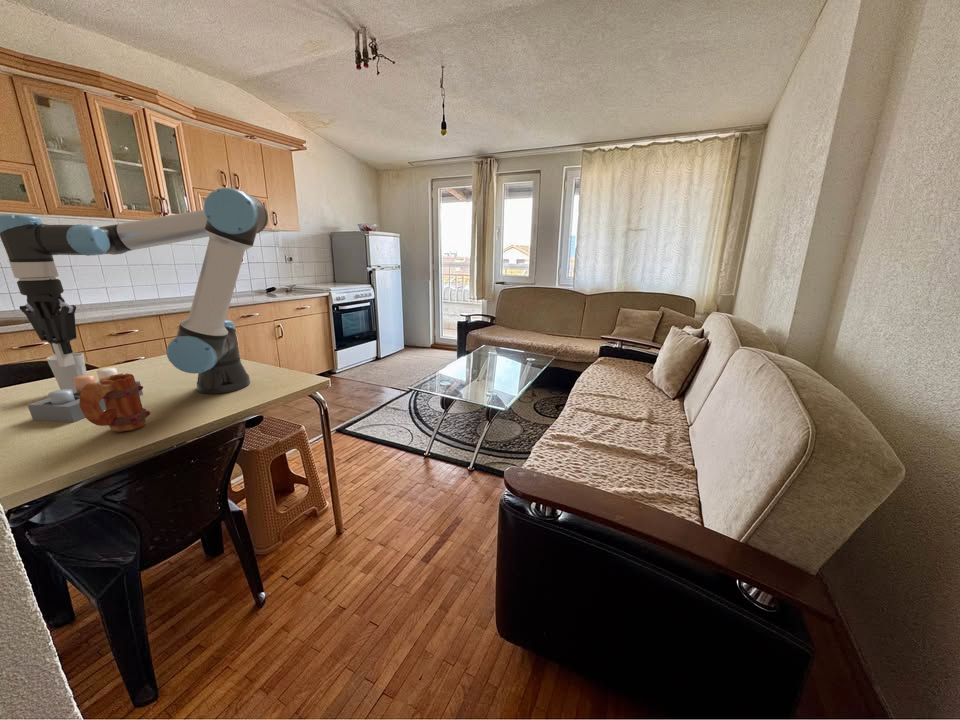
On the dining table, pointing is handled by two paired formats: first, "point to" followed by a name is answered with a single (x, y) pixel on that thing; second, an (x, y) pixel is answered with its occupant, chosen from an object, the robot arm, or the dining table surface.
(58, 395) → the button slate
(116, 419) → the mug
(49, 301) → the robot arm
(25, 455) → the dining table surface
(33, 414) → the grey tray
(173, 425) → the dining table surface
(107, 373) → the button ivory
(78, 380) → the button terracotta
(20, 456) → the dining table surface
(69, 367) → the cup
